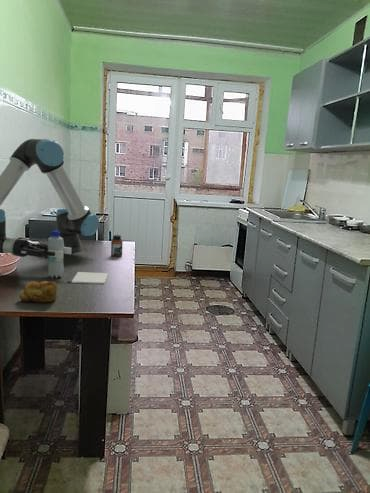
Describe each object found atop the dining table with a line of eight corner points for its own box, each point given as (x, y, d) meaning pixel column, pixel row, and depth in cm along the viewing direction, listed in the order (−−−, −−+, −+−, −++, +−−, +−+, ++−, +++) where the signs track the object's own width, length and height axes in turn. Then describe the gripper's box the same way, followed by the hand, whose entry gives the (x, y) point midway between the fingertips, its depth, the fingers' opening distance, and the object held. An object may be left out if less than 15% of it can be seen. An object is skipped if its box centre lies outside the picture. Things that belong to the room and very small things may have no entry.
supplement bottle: (112, 254, 212) (112, 233, 210) (123, 254, 212) (123, 234, 210) (109, 256, 206) (110, 235, 204) (121, 257, 206) (121, 236, 204)
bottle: (57, 279, 162) (57, 232, 158) (44, 277, 164) (43, 230, 160) (67, 275, 168) (67, 230, 164) (54, 273, 170) (54, 228, 166)
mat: (74, 273, 173) (74, 271, 172) (108, 274, 174) (108, 272, 174) (67, 282, 159) (67, 281, 159) (104, 283, 160) (104, 282, 160)
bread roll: (16, 304, 132) (15, 282, 131) (23, 295, 142) (23, 274, 140) (55, 305, 134) (55, 283, 133) (60, 295, 144) (60, 275, 142)
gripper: (30, 251, 177) (77, 256, 173) (3, 261, 158) (55, 267, 154) (29, 235, 175) (77, 239, 172) (2, 243, 157) (55, 248, 153)
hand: (66, 252), depth 163 cm, fingers closed on bottle, 6 cm apart
